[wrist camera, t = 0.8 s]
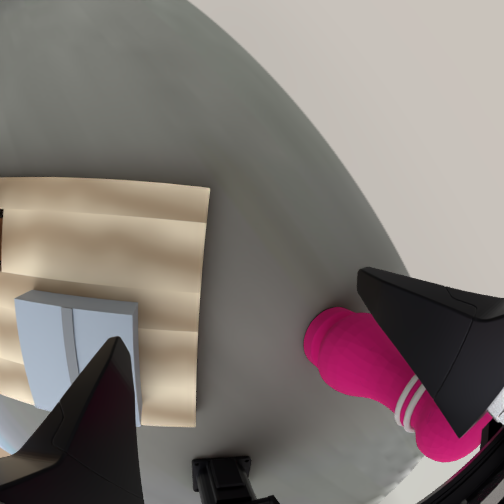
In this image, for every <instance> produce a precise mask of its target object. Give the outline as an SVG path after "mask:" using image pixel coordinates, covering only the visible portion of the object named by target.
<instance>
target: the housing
mask: <svg viewBox="0 0 504 504" xmlns="http://www.w3.org/2000/svg"><path fill="white" fill-rule="evenodd" d="M14 302H15V312H16V321H17V328H18V335H19V341H20V347H21V352H22V357H23V362H24V366H25V371H26V375H27V379H28V383H29V386H30V390H31V394H32V397H33V400H34V403H35V407H36V408H40V409H43V410H47V411H52V410H53V409H54V407H55V406H56V404H57V403H58V402H59V401H60V399H61V398H62V396H63V395H64V394H65V392H66V391H67V390H68V388H69V387H70V386H71V385H72V383H73V382H74V381H75V379H76V378H77V377H78V376H79V374H80V373H81V372H82V370H83V369H84V368H85V367H86V365H87V364H88V363H89V362H90V360H91V359H92V358H93V357H94V355H95V354H96V353H97V352H98V350H99V349H100V348H101V347H102V345H103V344H104V343H105V342H106V341H107V339H108V338H110V337H115V336H119V337H121V339H122V340H123V342H124V344H125V346H126V347H127V349H128V351H129V353H130V356H131V363H132V373H133V382H134V390H135V414H136V426H139V427H141V415H142V405H143V404H142V394H141V382H140V367H139V346H138V302H127V301H116V300H107V299H98V298H89V297H81V296H73V295H65V294H58V293H51V292H45V291H38V290H31V291H29V292H26V293H24V294H22V295H20V296H18V297H16V298H14Z"/></svg>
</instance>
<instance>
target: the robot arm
mask: <svg viewBox="0 0 504 504" xmlns="http://www.w3.org/2000/svg"><path fill="white" fill-rule="evenodd" d="M357 291H358V294H359V295H360V297H361V298H362V300H363V302H364V303H365V305H366V306H367V308H368V310H369V311H370V313H371V314H372V316H373V318H374V319H375V321H376V322H377V323H378V325H379V326H380V327H381V329H382V330H383V331H384V333H385V334H386V335H387V337H388V338H389V339H390V341H391V342H392V343H393V345H394V346H395V347H396V349H397V350H398V351H399V353H400V354H401V355H402V357H403V358H404V359H405V361H406V362H407V363H408V365H409V366H410V367H411V369H412V370H413V372H414V373H415V374H416V376H417V377H418V379H419V380H420V381H421V383H422V384H423V386H424V387H425V389H426V390H427V391H428V393H429V394H430V396H431V397H432V399H433V400H434V402H435V403H436V405H437V406H438V408H439V409H440V411H441V412H442V414H443V415H444V417H445V418H446V420H447V421H448V423H449V424H450V426H451V427H452V429H453V431H454V432H455V434H456V435H457V437H458V438H459V439H460V438H461V437H462V436H463V435H465V434H466V433H467V432H468V431H469V430H470V429H471V428H472V427H473V426H474V425H475V424H476V423H477V422H478V421H479V420H480V419H481V418H482V417H483V416H484V415H485V414H486V413H487V412H488V413H489V414H490V415H491V417H492V419H491V420H490V422H489V423H488V424H487V425H486V426H485V427H484V428H483V429H482V433H481V445H480V451H479V452H478V453H477V454H476V455H475V456H474V457H473V458H472V459H471V460H470V461H469V462H468V463H467V464H466V465H465V466H463V467H462V468H461V469H460V470H459V471H458V472H457V473H456V474H454V475H453V476H452V477H451V478H450V479H449V480H447V481H446V482H445V483H444V484H442V485H441V486H440V487H438V488H437V489H436V490H435V491H433V492H432V493H431V494H429V495H428V496H427V497H425V498H424V499H422V500H421V501H419V502H418V503H417V504H504V298H498V297H493V296H487V295H481V294H477V293H472V292H467V291H462V290H458V289H454V288H450V287H444V286H442V285H438V284H435V283H430V282H427V281H423V280H419V279H415V278H411V277H407V276H403V275H399V274H395V273H391V272H387V271H383V270H379V269H375V268H371V267H365V268H362V269H360V270H359V271H358V276H357ZM250 464H251V458H250V457H249V456H243V457H232V458H218V459H195V460H193V461H192V478H193V490H194V491H195V492H199V493H200V498H201V502H202V504H280V503H279V502H278V501H277V499H276V498H275V497H274V495H271V496H268V497H265V498H261V499H257V498H256V496H255V493H254V491H253V489H252V486H251V484H250V482H249V479H248V476H249V470H250ZM0 504H144V500H143V492H142V485H141V478H140V469H139V460H138V448H137V435H136V414H135V390H134V382H133V373H132V363H131V356H130V353H129V351H128V349H127V347H126V346H125V344H124V342H123V340H122V339H121V337H119V336H115V337H110V338H108V339H107V341H106V342H105V343H104V344H103V345H102V347H101V348H100V349H99V350H98V352H97V353H96V354H95V355H94V357H93V358H92V359H91V360H90V362H89V363H88V364H87V365H86V367H85V368H84V369H83V370H82V372H81V373H80V374H79V376H78V377H77V378H76V379H75V381H74V382H73V383H72V385H71V386H70V387H69V388H68V390H67V391H66V392H65V394H64V395H63V396H62V398H61V399H60V401H59V402H58V403H57V404H56V406H55V407H54V409H53V410H52V411H51V412H50V414H49V415H48V416H47V418H46V419H45V420H44V421H43V423H42V424H41V425H40V426H39V427H38V429H37V430H36V431H35V432H34V433H33V435H32V436H31V437H30V438H29V439H28V440H27V442H26V443H25V444H24V445H23V446H22V448H21V449H20V450H19V451H17V452H16V453H15V454H13V455H10V456H7V457H2V458H0Z"/></svg>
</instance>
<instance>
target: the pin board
mask: <svg viewBox="0 0 504 504" xmlns="http://www.w3.org/2000/svg"><path fill="white" fill-rule="evenodd" d="M209 195H210V188H205V187H196V186H187V185H177V184H166V183H155V182H143V181H129V180H114V179H95V178H68V177H2V178H0V209H4V212H3V225H2V247H1V266H0V394H2V395H5V396H7V397H10V398H13V399H16V400H19V401H22V402H25V403H28V404H32V405H35V403H34V400H33V397H32V394H31V390H30V386H29V383H28V379H27V375H26V371H25V366H24V362H23V357H22V352H21V347H20V341H19V335H18V328H17V321H16V312H15V302H14V298H16V297H18V296H20V295H22V294H24V293H26V292H29V291H31V290H38V291H45V292H51V293H58V294H65V295H73V296H81V297H89V298H98V299H107V300H116V301H127V302H138V346H139V367H140V382H141V394H142V404H143V405H142V415H141V425H149V426H167V427H196V369H197V343H198V323H199V306H200V291H201V278H202V265H203V254H204V243H205V232H206V222H207V213H208V204H209Z"/></svg>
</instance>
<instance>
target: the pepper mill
mask: <svg viewBox="0 0 504 504" xmlns="http://www.w3.org/2000/svg"><path fill="white" fill-rule="evenodd" d="M304 352H305V354H306V356H307V358H308V359H309V361H311V362H312V363H313V364H314V365H315V366H316V367H317V368H318V369H319V372H320V375H321V377H322V379H323V380H324V381H325V382H326V383H327V384H328V385H329V386H330V387H332V388H333V389H335V390H336V391H338V392H341V393H344V394H346V395H350V396H357V397H365V398H371V399H373V400H376V401H378V402H380V403H382V404H383V405H385V406H386V407H388V408H389V409H390V410H391V411H392V412H394V413H395V421H396V423H397V424H398V425H400V426H404V428H405V430H406V431H407V432H411V433H412V432H416V443H417V446H418V448H419V450H420V451H421V452H422V453H423V454H424V455H425V456H426V457H428V458H431V459H433V460H435V461H439V462H451V461H456V460H458V459H461V458H463V457H465V456H466V455H468V454H469V453H471V452H472V451H473V450H474V449H476V448H477V447H478V446H479V445H480V443H481V433H482V429H483V428H484V427H485V426H486V425H487V424H488V423H489V422H490V420H491V419H492V417H491V415H490V414H489V413H488V412H487V413H486V414H485V415H484V416H483V417H482V418H481V419H480V420H479V421H478V422H477V423H476V424H475V425H474V426H473V427H472V428H471V429H470V430H469V431H468V432H467V433H466V434H465V435H463V436H462V437H461V438H460V439H459V438H458V437H457V435H456V434H455V432H454V431H453V429H452V427H451V426H450V424H449V423H448V421H447V420H446V418H445V417H444V415H443V414H442V412H441V411H440V409H439V408H438V406H437V405H436V403H435V402H434V400H433V399H432V397H431V396H430V394H429V393H428V391H427V390H426V389H425V387H424V386H423V384H422V383H421V381H420V380H419V379H418V377H417V376H416V374H415V373H414V372H413V370H412V369H411V367H410V366H409V365H408V363H407V362H406V361H405V359H404V358H403V357H402V355H401V354H400V353H399V351H398V350H397V349H396V347H395V346H394V345H393V343H392V342H391V341H390V339H389V338H388V337H387V335H386V334H385V333H384V331H383V330H382V329H381V327H380V326H379V325H378V323H377V322H376V321H375V319H374V318H373V316H372V314H369V313H354V312H352V311H350V310H348V309H346V308H342V307H334V308H330V309H327V310H325V311H323V312H322V313H320V314H319V315H318V316H317V317H316V318H315V319H314V320H313V321H312V322H311V324H310V325H309V327H308V329H307V331H306V334H305V338H304Z"/></svg>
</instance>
